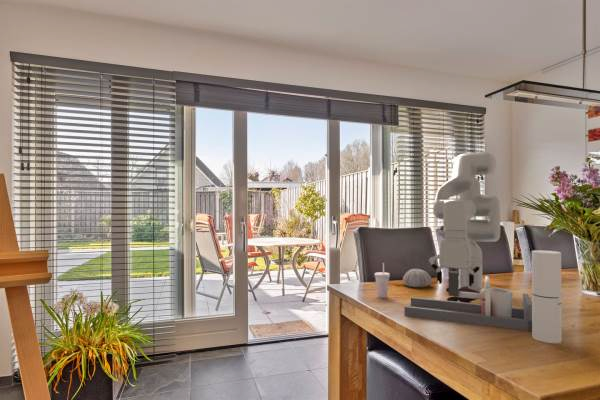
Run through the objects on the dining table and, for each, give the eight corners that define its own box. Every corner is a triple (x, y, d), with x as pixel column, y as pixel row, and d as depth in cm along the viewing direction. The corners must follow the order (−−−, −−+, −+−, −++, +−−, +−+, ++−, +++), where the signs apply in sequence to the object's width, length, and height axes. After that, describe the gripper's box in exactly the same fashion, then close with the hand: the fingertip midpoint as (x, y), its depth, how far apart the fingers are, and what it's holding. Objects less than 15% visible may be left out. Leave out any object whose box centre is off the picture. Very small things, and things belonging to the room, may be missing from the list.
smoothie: (390, 299, 153) (390, 264, 153) (374, 298, 154) (374, 264, 154) (389, 295, 159) (389, 262, 159) (374, 294, 161) (374, 261, 161)
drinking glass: (511, 325, 120) (511, 293, 120) (488, 321, 124) (488, 291, 124) (513, 319, 126) (513, 290, 126) (491, 316, 129) (491, 287, 129)
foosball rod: (450, 309, 136) (449, 269, 136) (491, 314, 130) (491, 272, 130) (448, 316, 128) (448, 274, 128) (492, 322, 122) (491, 277, 122)
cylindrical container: (526, 334, 112) (525, 250, 112) (549, 334, 112) (548, 250, 112) (544, 343, 104) (543, 253, 105) (568, 342, 105) (567, 253, 105)
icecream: (487, 286, 148) (446, 286, 154) (488, 285, 141) (445, 285, 147) (489, 304, 146) (447, 304, 152) (490, 304, 139) (446, 303, 145)
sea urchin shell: (398, 287, 175) (398, 269, 175) (406, 281, 187) (406, 265, 187) (428, 290, 169) (428, 272, 169) (434, 284, 180) (434, 268, 180)
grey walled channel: (411, 304, 144) (411, 270, 144) (528, 317, 128) (527, 278, 128) (404, 315, 131) (404, 277, 131) (534, 331, 114) (533, 288, 114)
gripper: (427, 235, 131) (427, 284, 131) (482, 236, 124) (483, 289, 124) (430, 233, 138) (430, 280, 138) (482, 235, 131) (482, 284, 131)
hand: (455, 284), depth 131 cm, fingers open, 9 cm apart
